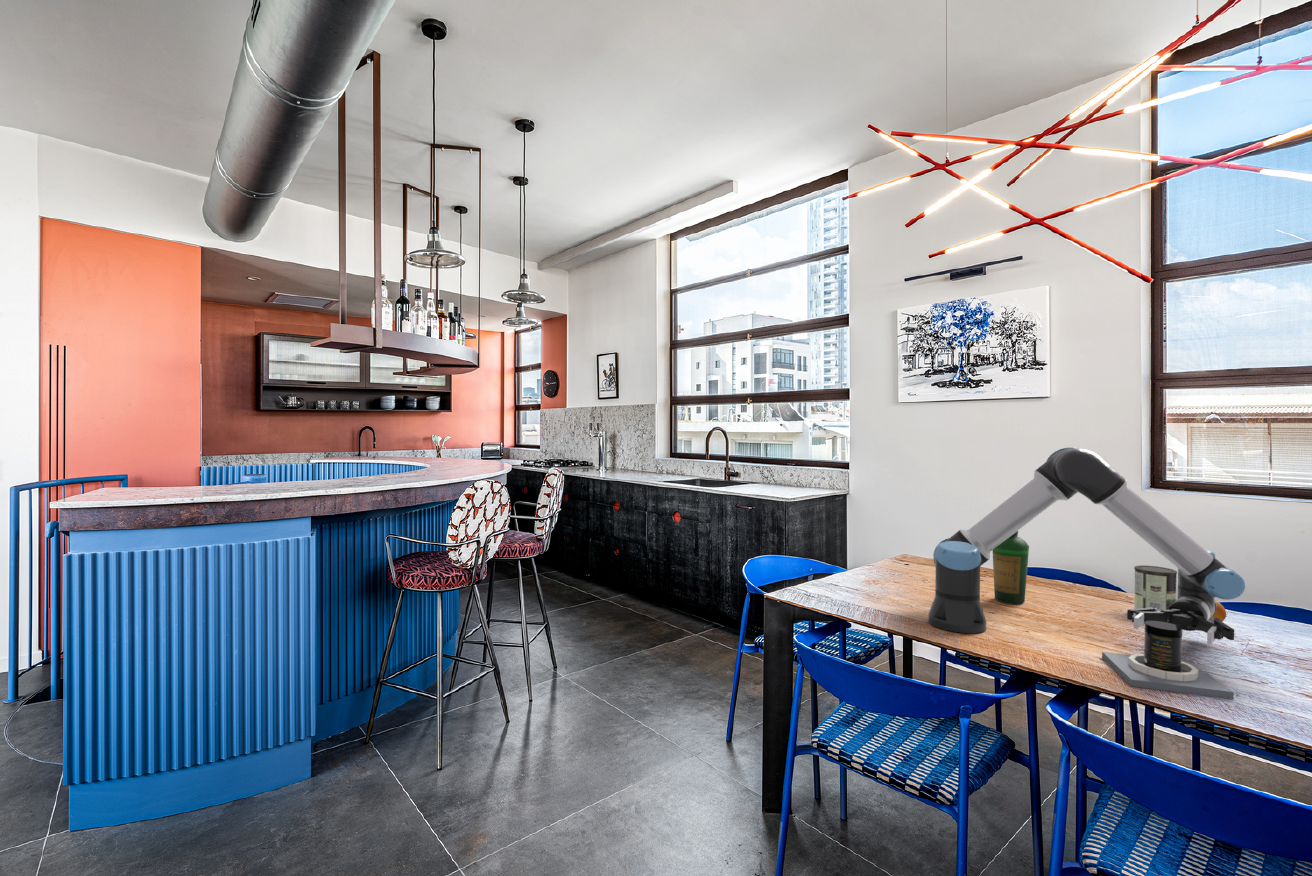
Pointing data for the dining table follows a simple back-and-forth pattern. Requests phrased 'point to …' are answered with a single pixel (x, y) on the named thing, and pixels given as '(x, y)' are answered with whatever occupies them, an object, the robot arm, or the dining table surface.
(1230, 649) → the dining table surface
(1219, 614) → the fruit
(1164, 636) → the supplement container
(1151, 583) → the coffee can
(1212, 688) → the ring board
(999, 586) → the bottle
